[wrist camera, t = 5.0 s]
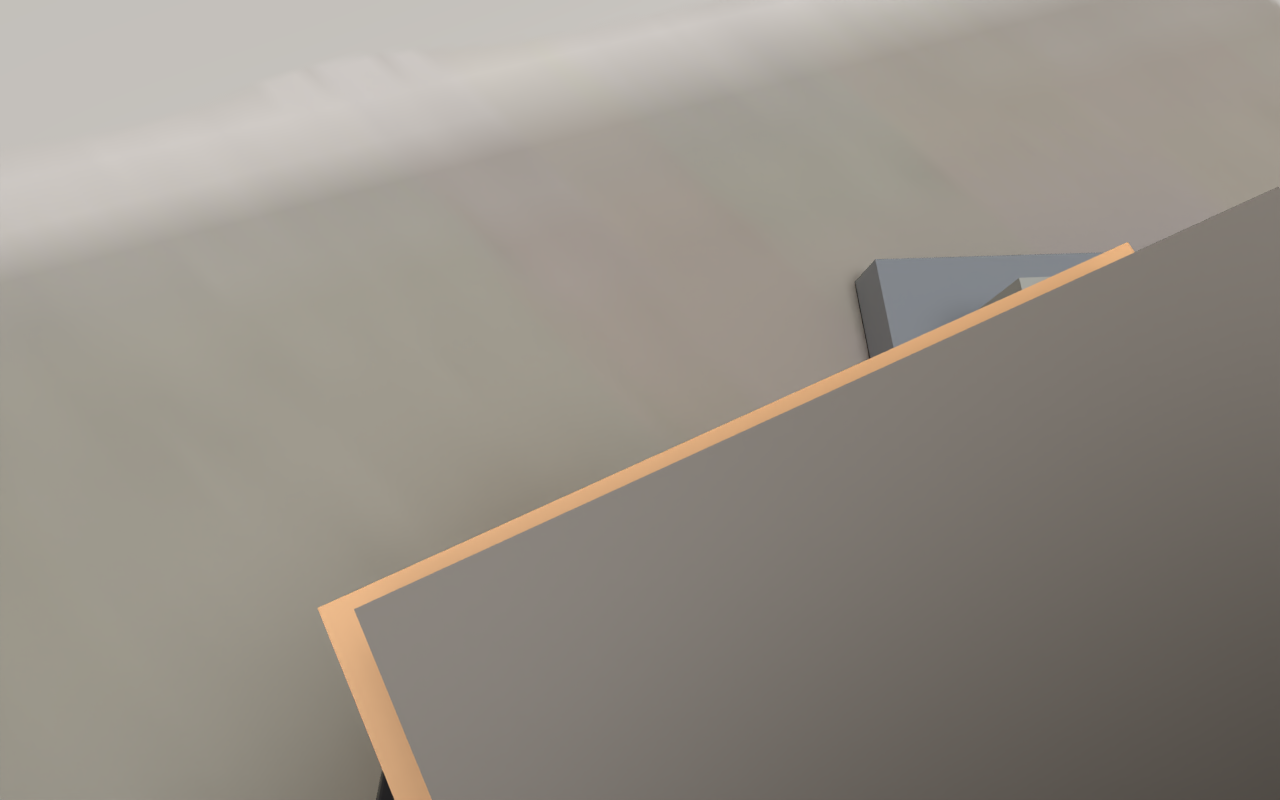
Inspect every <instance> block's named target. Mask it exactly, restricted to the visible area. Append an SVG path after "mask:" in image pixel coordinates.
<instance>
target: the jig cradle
mask: <svg viewBox="0 0 1280 800" xmlns="http://www.w3.org/2000/svg"><path fill="white" fill-rule="evenodd" d="M1100 254H1103V253H1073V254H1040V255H1006V256H973V257H940V258H907V259H875V260H874V262H873V263H872V264H871V265H870V266H869V267H868V268H867V269H866V270H865V271H864V273H863V274H862V275H861V276H860V277H859V278H858V279H857V280H856V281H855V283H856V289H857V294H858V299H859V304H860V309H861V314H862V319H863V324H864V329H865V334H866V339H867V344H868V349H869V354H870V358H872V357H875V356H877V355H879V354H881V353H883V352H886V351H888V350H890V349H892V348H894V347H897V346H899V345H901V344H903V343H906V342H908V341H910V340H912V339H914V338H917V337H919V336H921V335H923V334H925V333H928V332H930V331H932V330H934V329H937V328H939V327H941V326H943V325H945V324H948V323H950V322H952V321H954V320H956V319H959V318H961V317H963V316H965V315H968V314H970V313H972V312H974V311H976V310H979V309H981V308H983V307H985V306H987V305H990V304H992V303H994V302H996V301H999V300H1001V299H1003V298H1005V297H1007V296H1010V295H1012V294H1014V293H1016V292H1018V291H1021V290H1023V289H1025V288H1027V287H1030V286H1032V285H1034V284H1036V283H1038V282H1041V281H1043V280H1045V279H1047V278H1049V277H1052V276H1054V275H1056V274H1058V273H1061V272H1063V271H1065V270H1067V269H1069V268H1072V267H1074V266H1076V265H1078V264H1080V263H1083V262H1085V261H1087V260H1089V259H1092V258H1094V257H1096V256H1098V255H1100Z"/></svg>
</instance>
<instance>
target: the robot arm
mask: <svg viewBox="0 0 1280 800" xmlns="http://www.w3.org/2000/svg"><path fill="white" fill-rule="evenodd" d="M376 800H394V797H393V795H392V792H391V790H390V787H389V785H388V782H387V780H386V777H385V775H384V772H383V770H382V772H381V777H380V782H379V788H378V793H377V798H376Z"/></svg>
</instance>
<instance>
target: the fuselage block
mask: <svg viewBox="0 0 1280 800" xmlns="http://www.w3.org/2000/svg"><path fill="white" fill-rule="evenodd" d="M318 610H319V613H320V615H321V618H322V620H323V623H324V625H325V628H326V630H327V633H328V635H329V638H330V640H331V643H332V645H333V648H334V650H335V653H336V655H337V658H338V660H339V663H340V665H341V668H342V670H343V673H344V675H345V678H346V680H347V682H348V685H349V687H350V690H351V692H352V695H353V697H354V700H355V702H356V705H357V707H358V710H359V712H360V715H361V717H362V720H363V722H364V725H365V727H366V730H367V732H368V735H369V737H370V740H371V742H372V745H373V747H374V750H375V752H376V755H377V757H378V760H379V762H380V765H381V767H382V770H383V772H384V775H385V777H386V780H387V782H388V785H389V787H390V790H391V792H392V795H393V797H394V800H1280V189H1279V187H1276V188H1274V189H1272V190H1270V191H1268V192H1266V193H1263V194H1261V195H1259V196H1257V197H1255V198H1252V199H1250V200H1248V201H1246V202H1244V203H1241V204H1239V205H1237V206H1235V207H1233V208H1231V209H1228V210H1226V211H1224V212H1222V213H1220V214H1217V215H1215V216H1213V217H1211V218H1209V219H1206V220H1204V221H1202V222H1200V223H1198V224H1196V225H1193V226H1191V227H1189V228H1187V229H1185V230H1182V231H1180V232H1178V233H1176V234H1174V235H1171V236H1169V237H1167V238H1165V239H1163V240H1161V241H1158V242H1156V243H1154V244H1152V245H1150V246H1147V247H1145V248H1143V249H1141V250H1139V251H1136V252H1134V251H1133V249H1132V248H1131V246H1130V245H1129V243H1128V242H1127V243H1125V244H1123V245H1120V246H1118V247H1116V248H1114V249H1111V250H1109V251H1107V252H1105V253H1103V254H1100V255H1098V256H1096V257H1094V258H1092V259H1089V260H1087V261H1085V262H1083V263H1080V264H1078V265H1076V266H1074V267H1072V268H1069V269H1067V270H1065V271H1063V272H1061V273H1058V274H1056V275H1054V276H1052V277H1049V278H1047V279H1045V280H1043V281H1041V282H1038V283H1036V284H1034V285H1032V286H1030V287H1027V288H1025V289H1023V290H1021V291H1018V292H1016V293H1014V294H1012V295H1010V296H1007V297H1005V298H1003V299H1001V300H999V301H996V302H994V303H992V304H990V305H987V306H985V307H983V308H981V309H979V310H976V311H974V312H972V313H970V314H968V315H965V316H963V317H961V318H959V319H956V320H954V321H952V322H950V323H948V324H945V325H943V326H941V327H939V328H937V329H934V330H932V331H930V332H928V333H925V334H923V335H921V336H919V337H917V338H914V339H912V340H910V341H908V342H906V343H903V344H901V345H899V346H897V347H894V348H892V349H890V350H888V351H886V352H883V353H881V354H879V355H877V356H875V357H872V358H870V359H868V360H866V361H863V362H861V363H859V364H857V365H855V366H852V367H850V368H848V369H846V370H844V371H841V372H839V373H837V374H835V375H832V376H830V377H828V378H826V379H824V380H821V381H819V382H817V383H815V384H813V385H810V386H808V387H806V388H804V389H801V390H799V391H797V392H795V393H793V394H790V395H788V396H786V397H784V398H781V399H779V400H777V401H775V402H773V403H770V404H768V405H766V406H764V407H762V408H759V409H757V410H755V411H753V412H750V413H748V414H746V415H744V416H742V417H739V418H737V419H735V420H733V421H731V422H728V423H726V424H724V425H722V426H719V427H717V428H715V429H713V430H711V431H708V432H706V433H704V434H702V435H700V436H697V437H695V438H693V439H691V440H688V441H686V442H684V443H682V444H680V445H677V446H675V447H673V448H671V449H669V450H666V451H664V452H662V453H660V454H657V455H655V456H653V457H651V458H649V459H646V460H644V461H642V462H640V463H638V464H635V465H633V466H631V467H629V468H626V469H624V470H622V471H620V472H618V473H615V474H613V475H611V476H609V477H607V478H604V479H602V480H600V481H598V482H595V483H593V484H591V485H589V486H587V487H584V488H582V489H580V490H578V491H576V492H573V493H571V494H569V495H567V496H564V497H562V498H560V499H558V500H556V501H553V502H551V503H549V504H547V505H545V506H542V507H540V508H538V509H536V510H533V511H531V512H529V513H527V514H525V515H522V516H520V517H518V518H516V519H514V520H511V521H509V522H507V523H505V524H502V525H500V526H498V527H496V528H494V529H491V530H489V531H487V532H485V533H483V534H480V535H478V536H476V537H474V538H471V539H469V540H467V541H465V542H463V543H460V544H458V545H456V546H454V547H452V548H449V549H447V550H445V551H443V552H440V553H438V554H436V555H434V556H432V557H429V558H427V559H425V560H423V561H421V562H418V563H416V564H414V565H412V566H409V567H407V568H405V569H403V570H401V571H398V572H396V573H394V574H392V575H390V576H387V577H385V578H383V579H381V580H378V581H376V582H374V583H372V584H370V585H367V586H365V587H363V588H361V589H359V590H356V591H354V592H352V593H350V594H347V595H345V596H343V597H341V598H339V599H336V600H334V601H332V602H330V603H328V604H325V605H323V606H321V607H319V608H318Z"/></svg>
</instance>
